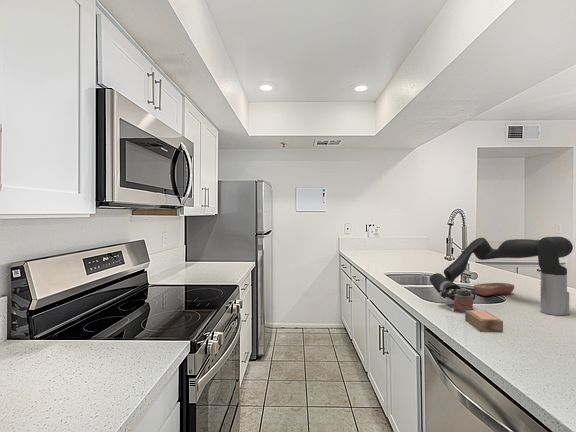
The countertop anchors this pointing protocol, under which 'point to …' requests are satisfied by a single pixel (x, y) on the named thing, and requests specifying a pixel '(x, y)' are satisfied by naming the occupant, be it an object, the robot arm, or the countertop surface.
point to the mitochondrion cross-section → (493, 288)
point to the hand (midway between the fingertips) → (463, 298)
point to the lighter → (463, 300)
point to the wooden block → (484, 321)
